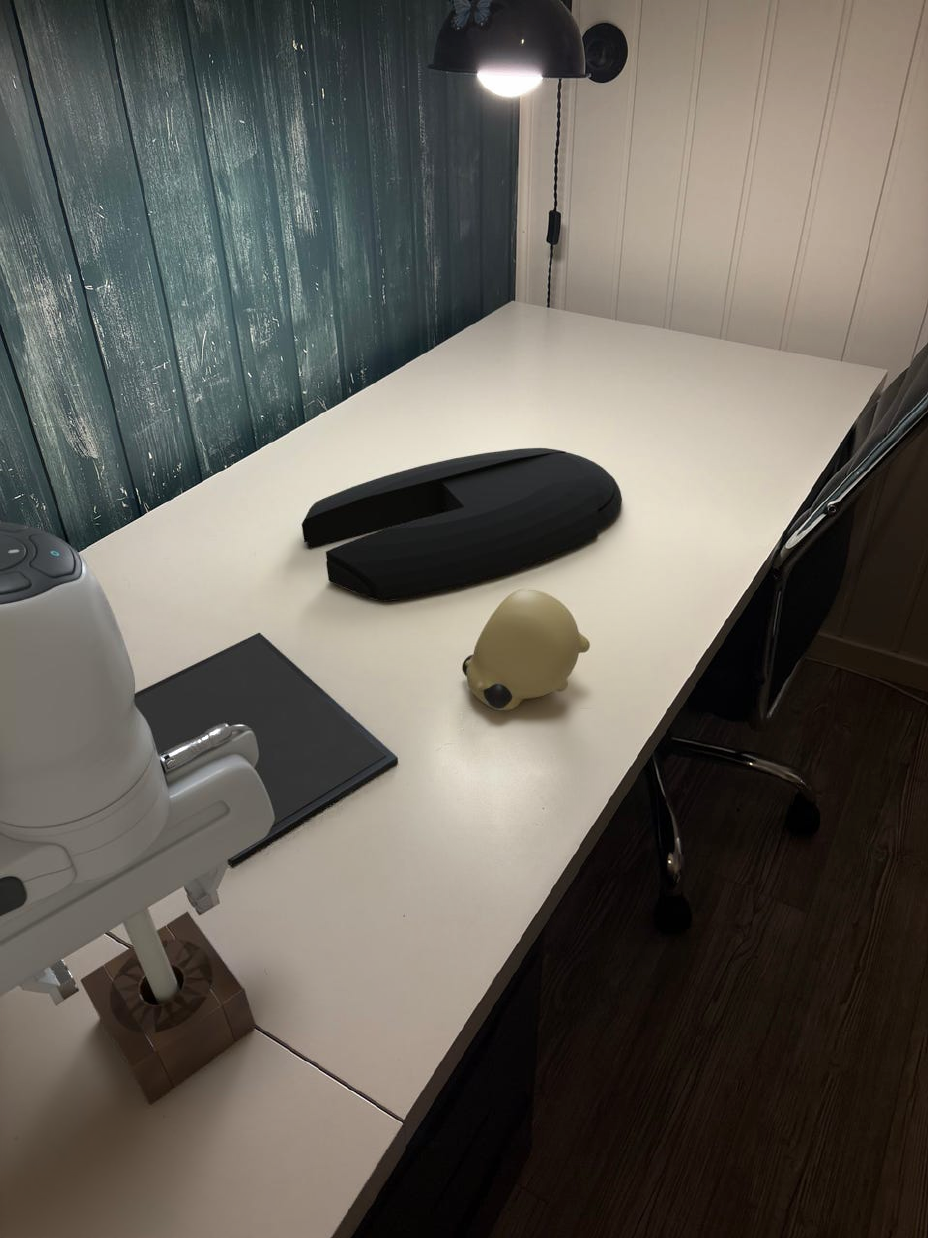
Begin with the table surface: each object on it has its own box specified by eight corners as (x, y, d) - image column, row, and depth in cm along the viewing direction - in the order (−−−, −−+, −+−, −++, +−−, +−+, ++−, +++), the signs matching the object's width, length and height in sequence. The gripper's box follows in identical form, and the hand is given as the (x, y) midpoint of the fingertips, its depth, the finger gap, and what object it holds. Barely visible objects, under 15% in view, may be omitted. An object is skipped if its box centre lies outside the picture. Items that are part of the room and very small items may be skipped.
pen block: (150, 1106, 60) (131, 1069, 57) (99, 1017, 65) (79, 979, 62) (256, 1027, 64) (244, 989, 61) (201, 949, 69) (187, 910, 66)
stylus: (174, 1038, 63) (123, 921, 55) (163, 1021, 64) (112, 903, 56) (195, 1023, 64) (148, 905, 55) (184, 1006, 65) (137, 888, 56)
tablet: (232, 867, 74) (230, 860, 74) (108, 713, 89) (106, 706, 88) (398, 763, 83) (397, 756, 82) (260, 637, 97) (259, 631, 97)
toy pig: (500, 683, 96) (426, 650, 90) (571, 596, 93) (500, 554, 87) (541, 744, 89) (463, 712, 82) (620, 651, 86) (545, 610, 79)
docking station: (664, 529, 112) (669, 493, 109) (354, 624, 99) (349, 587, 96) (560, 444, 130) (561, 411, 127) (284, 515, 116) (279, 480, 113)
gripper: (223, 684, 57) (255, 829, 65) (-140, 862, 46) (-46, 1008, 54) (278, 739, 53) (304, 886, 61) (-105, 947, 42) (-10, 1090, 51)
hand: (137, 945), depth 58 cm, fingers open, 8 cm apart
